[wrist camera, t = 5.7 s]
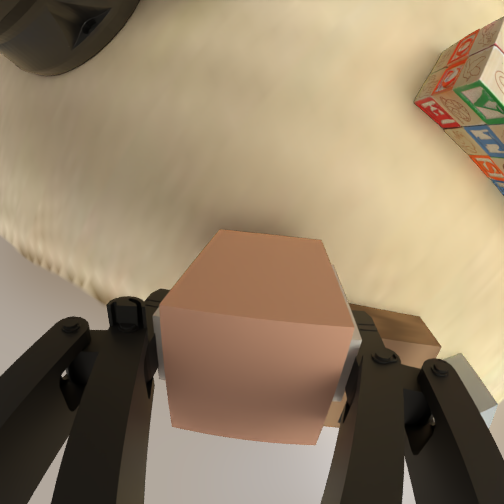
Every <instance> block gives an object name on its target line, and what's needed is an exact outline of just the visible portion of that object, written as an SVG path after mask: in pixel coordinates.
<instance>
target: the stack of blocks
mask: <svg viewBox="0 0 504 504" xmlns="http://www.w3.org/2000/svg"><path fill="white" fill-rule="evenodd" d="M414 103H415V104H416V105H417V106H418V107H419V108H420V109H422V110H423V111H424V112H425V113H426V114H428V115H429V116H430V117H431V118H432V119H433V120H434V121H435V122H437V123H438V124H439V125H440V126H441V127H443V128H444V131H445V132H446V133H447V134H448V135H449V136H450V137H451V138H452V139H453V140H454V141H455V142H456V143H457V144H458V145H459V146H460V147H461V148H462V149H463V150H464V151H465V152H466V153H467V154H468V155H469V156H470V158H471V159H472V160H473V161H474V162H475V163H476V164H477V165H478V167H479V168H480V169H481V170H482V171H483V172H484V173H485V174H486V176H487V177H488V178H490V179H491V180H492V182H493V183H494V184H495V185H496V186H497V188H498V189H499V190H500V191H501V193H502V194H503V195H504V17H502V18H500V19H498V20H496V21H494V22H492V23H490V24H488V25H487V26H485V27H483V28H482V29H478V30H476V31H474V32H473V33H471V34H469V35H468V36H466V37H464V38H463V39H461V40H460V41H458V42H457V43H455V44H454V45H452V46H451V47H449V48H448V49H446V50H444V51H443V52H442V54H441V56H440V58H439V60H438V61H437V63H436V65H435V67H434V68H433V70H432V72H431V74H430V75H429V77H428V78H427V80H426V81H425V83H424V85H423V86H422V88H421V90H420V92H419V93H418V95H417V97H416V99H415V101H414Z"/></svg>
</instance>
